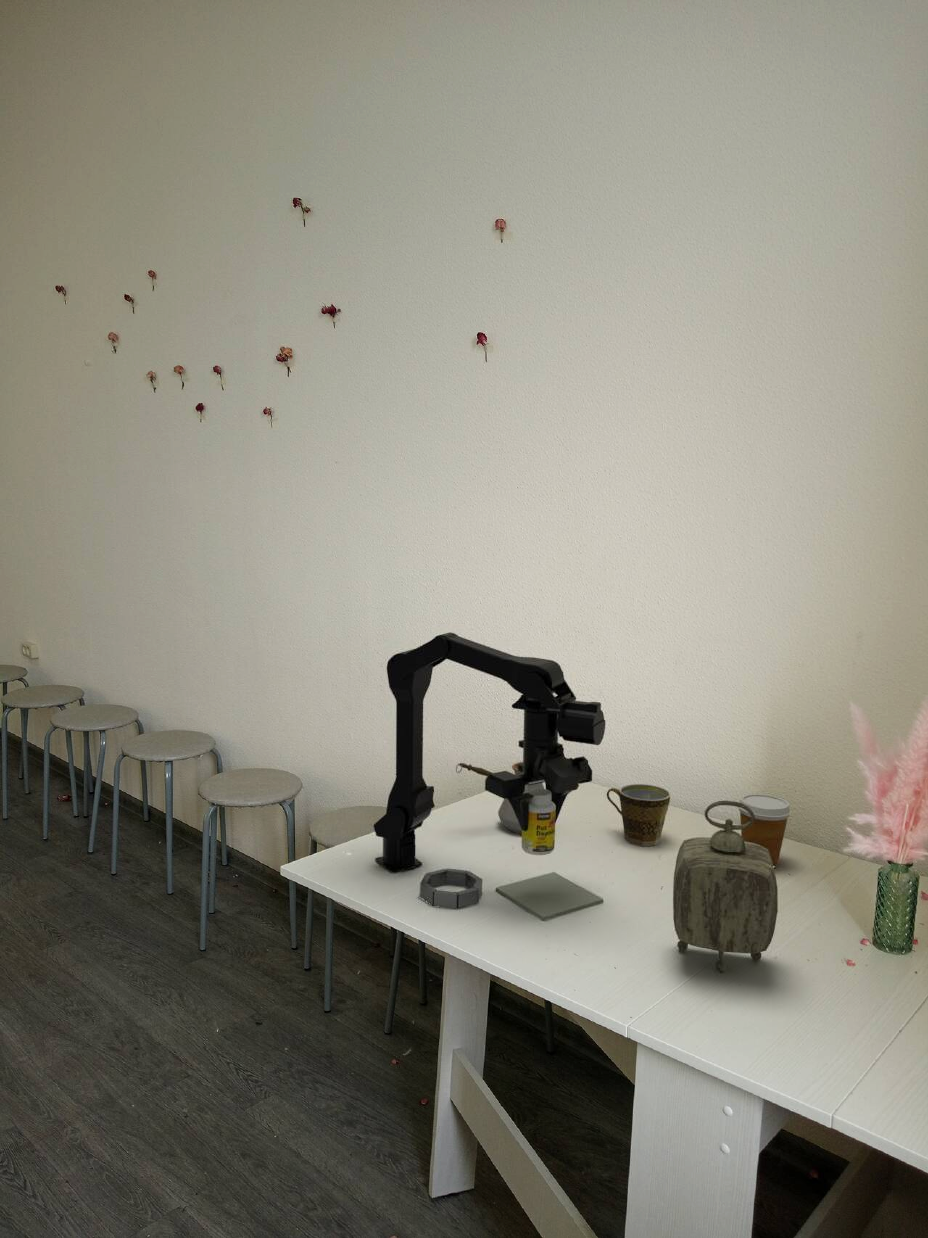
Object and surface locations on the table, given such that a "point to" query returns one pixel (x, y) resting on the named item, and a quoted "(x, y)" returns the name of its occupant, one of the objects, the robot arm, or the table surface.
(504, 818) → the grey turkish cezve
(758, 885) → the tabletop clock
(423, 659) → the robot arm
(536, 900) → the mat
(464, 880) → the collar
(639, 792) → the ceramic cup
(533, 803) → the supplement bottle
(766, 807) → the disposable coffee cup
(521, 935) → the table surface
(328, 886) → the table surface
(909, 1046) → the table surface
